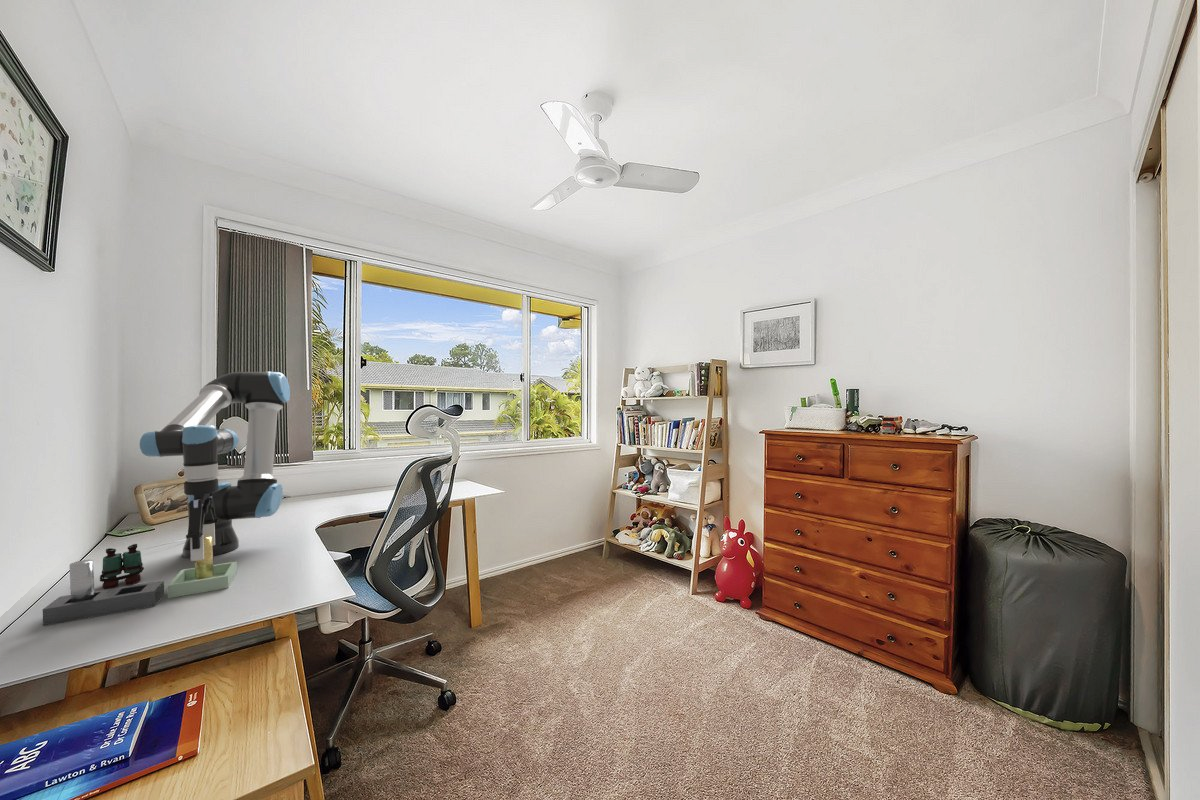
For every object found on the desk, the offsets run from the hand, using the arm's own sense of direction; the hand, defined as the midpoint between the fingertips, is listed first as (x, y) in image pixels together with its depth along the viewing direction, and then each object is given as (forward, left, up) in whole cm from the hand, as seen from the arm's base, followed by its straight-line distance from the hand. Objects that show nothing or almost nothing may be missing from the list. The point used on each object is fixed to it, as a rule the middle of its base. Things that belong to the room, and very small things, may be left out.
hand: (203, 552), depth 135 cm
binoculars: (-13, -21, -10) cm, 26 cm away
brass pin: (0, 0, -9) cm, 9 cm away
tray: (0, 0, -9) cm, 9 cm away
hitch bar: (+7, -18, -9) cm, 21 cm away
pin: (+7, -22, -9) cm, 25 cm away
